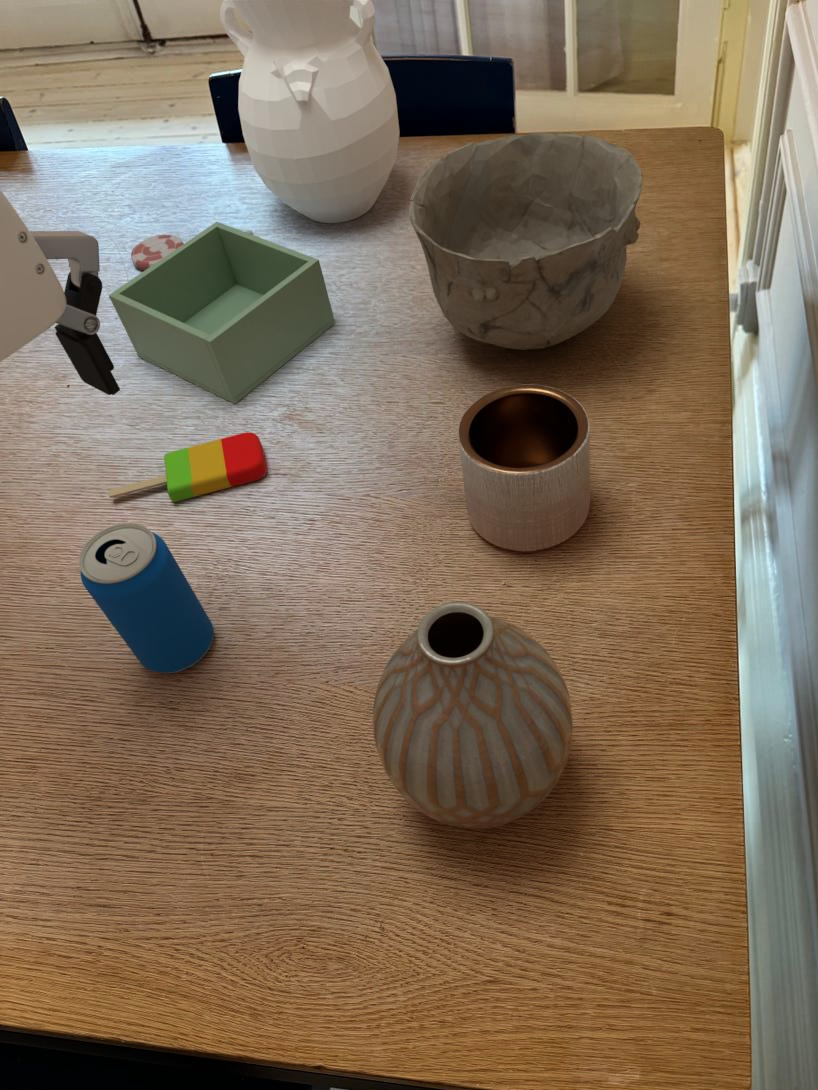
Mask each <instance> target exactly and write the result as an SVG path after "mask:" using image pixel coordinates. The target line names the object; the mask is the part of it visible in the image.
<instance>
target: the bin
mask: <svg viewBox="0 0 818 1090" xmlns="http://www.w3.org/2000/svg"><path fill="white" fill-rule="evenodd" d="M108 298H109V300H110V301H111V303H112V305H113V308H114V310H115V312H116V314H117V316H118V318H119V321H120V322H121V324H122V326H123V328H124V330H125V332H126V334H127V337H128V338H129V340H130V342H131V345H132V346H133V348H134V350H135V352H136V355H137V357H138V358H140V359H142V360H145V361H147V362H148V363H151V364H153V365H155V366H157V367H159V368H161V369H163V370H165V371H167V372H168V373H171V374H173V375H175V376H177V377H179V378H181V379H183V380H185V381H187V382H189V383H191V384H194V385H195V386H198V387H200V388H201V389H203V390H206V391H207V392H210V393H211V394H214V395H216V396H218V397H219V398H222V399H224V400H226V401H228V402H230V403H232V404H234V405H236V404H237V403H238V402H240V401H241V400H242V399H244V398H245V397H247V395H248V394H250V393H251V392H252V391H253V390H255V389H256V388H257V387H258V386H259V385H261V384H262V383H263V382H264V381H266V380H267V379H268V378H270V376H272V375H273V374H274V373H276V372H277V371H278V370H279V369H280V368H282V367H283V366H284V365H285V364H287V363H288V362H290V361H291V359H293V358H294V357H295V356H296V355H298V354H299V353H300V352H301V351H303V350H304V349H305V348H306V347H308V346H309V345H310V344H311V343H313V342H314V341H315V340H317V338H319V337H320V336H321V335H323V334H324V333H325V332H327V330H329V329H330V328H331V327H332V326H334V325H335V324H336V321H335V316H334V313H333V308H332V305H331V301H330V296H329V293H328V290H327V286H326V282H325V278H324V274H323V271H322V267H321V262H320V260H319V258H315V257H312V256H310V255H307V254H305V253H303V252H299V251H297V250H293V249H291V248H289V247H286V246H283V245H280V244H278V243H275V242H273V241H270V240H267V239H264V238H262V237H260V236H257V235H255V234H253V235H251V234H249V233H246V231H243V230H241V229H238V228H235V227H232V226H230V225H227V224H224V223H222V222H219V221H215V222H214V223H212V224H211V225H210V226H208V227H206V228H204V229H203V230H202V231H201V232H199V233H198V234H196V235H195V236H194V237H192V238H190V239H189V240H187V241H186V242H184V244H183V245H182V246H180V247H179V248H177V249H176V250H174V251H173V252H171V253H170V254H168V255H167V256H165V257H164V258H163V259H161V260H160V261H158V262H157V263H155V264H154V265H152V266H151V267H149V268H148V269H146V270H142V272H140V273H139V274H138V275H136V276H134V277H133V278H132V279H129V281H127V282H126V283H124V284H123V285H122V286H120V287H119V288H117V289H115V290H114V291H113V292H111V293H110V294H108Z"/></svg>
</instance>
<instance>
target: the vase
mask: <svg viewBox="0 0 818 1090" xmlns="http://www.w3.org/2000/svg"><path fill="white" fill-rule="evenodd" d="M573 719H574V718H573V709H572V704H571V697H570V693H569V689H568V687H567V684H566V682H565V679H564V677H563V674H562V672H561V670H560V669H559V667H558V665H557V663H556V662H555V661H554V659H553V658H552V656H551V655H550V654H549V653H548V652H547V650H546V649H545V648H544V646H543V645H541V643H540V642H538V641H537V640H536V639H535V638H534V637H533V636H532V635H530V634H529V633H528V632H526V631H525V630H524V629H522V628H521V627H519V626H517V625H515V624H513V623H511V622H509V621H507V620H504V619H502V618H500V617H497V616H493V615H489V614H488V613H487V611H486V610H484V609H483V608H482V607H479V606H478V605H476V604H473V603H470V602H465V601H451V602H447V603H446V602H445V603H442V604H440V605H439V606H436V607H435V608H433V609H431V610H430V611H428V612H427V613H426V615H424V617H423V618H422V619H421V621H420V623H419V625H418V627H417V629H416V630H415V631H414V632H412V633H411V634H410V635H409V636H408V637H407V638H406V639H405V640H403V642H402V643H401V644H400V645H399V646H398V647H397V649H396V650H395V651H394V652H393V654H392V655H391V656H390V658H389V660H388V662H387V664H386V666H385V667H384V669H383V672H382V674H381V676H380V678H379V681H378V684H377V688H376V691H375V696H374V699H373V708H372V730H373V737H374V742H375V747H376V750H377V753H378V757H379V760H380V762H381V765H382V767H383V769H384V772H385V773H386V775H387V777H388V779H389V781H390V782H391V784H392V785H393V787H394V788H395V789H396V791H397V792H398V793H399V794H400V796H401V797H402V798H403V799H404V800H405V801H406V802H407V803H408V804H409V805H411V806H412V807H413V808H414V809H416V810H417V811H418V812H420V813H422V814H423V815H425V816H426V817H428V818H431V819H432V820H435V821H437V822H439V823H442V824H444V825H447V826H451V827H455V828H456V827H457V828H460V829H469V830H470V829H474V830H478V829H479V830H480V829H481V830H482V829H490V828H491V829H492V828H495V827H500V826H503V825H506V824H509V823H512V822H513V821H516V820H517V819H520V818H522V817H524V816H525V815H526V814H528V813H530V812H531V811H532V810H534V809H535V808H536V807H538V806H539V805H540V804H541V803H542V802H543V801H544V800H545V799H546V798H547V797H548V796H549V794H550V793H551V792H552V791H553V789H554V788H555V786H556V785H557V783H558V782H559V780H560V778H561V777H562V775H563V773H564V771H565V769H566V766H567V764H568V761H569V757H570V753H571V749H572V743H573V732H574V720H573Z"/></svg>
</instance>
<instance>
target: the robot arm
mask: <svg viewBox="0 0 818 1090" xmlns="http://www.w3.org/2000/svg"><path fill="white" fill-rule="evenodd" d="M49 260H67V261H68V267H69V268H70V269H69V270H70V271H69V272H68V275H67V278H66V283H65V287H64V288H63V286H62V284H61V282H60V280H59V278H58V277H57V275H56V273H55V271H54V269H53V267H52V265H51V264H50V261H49ZM100 266H101V265H100V247H99V241H98V240H97V238H96V237H94V236H92V235H90V234H88V233H85V232H82V231H79V230H29V228H28V227H27V225H26V224H25V221H23V219H22V218H21V216H20V215H19V213H18V212H17V210H16V209H15V207H14V206H13V204H12V203H11V202H10V201H9V199H8V198H7V196H6V195H5V194H4V192H3V191H2V190H1V189H0V363H1V362H3V361H5V360H6V359H8V358H9V357H10V356H12V355H13V354H15V353H16V352H18V351H19V350H20V349H23V348H24V347H25V346H27V345H28V344H29V343H31V342H32V341H33V340H36V338H38V337H40V336H41V335H42V334H44V333H45V332H46V331H48V330H49V329H51V327H53V326H54V325H55V324H56V325H55V326H54V327H53V328H54V329H55V331H56V332H55V336H56V337H57V340H58V341H59V343H60V345H61V346H62V348H63V350H64V351H65V353H66V355H67V357H68V358H69V360H70V363H71V364H72V365H73V368H74V369H75V370H76V372H77V374H78V376H79V377H80V379H81V381H83V382H84V384H87V385H88V386H91V387H93V388H94V389H97V390H98V391H100V392H102V393H104V394H106V395H108V396H111V395H112V396H114V395H117V393H119V392H120V391H121V388H120V386H119V383H118V382H117V380H116V378H115V377H114V375H113V372H112V371H113V370H114V369H115V366H114V363H113V361H112V359H111V357H110V356H109V353H108V352H107V350H106V348H105V345H104V344H103V342H102V341H101V338H100V337H99V335H98V332H99V330H100V329H101V322H100V319H99V317H98V316H97V313H98V310H99V306H100V305H99V304H100V301H101V297H102V291H103V282H102V280H101V278H100V277H99V272H101V270H100V269H101V267H100Z"/></svg>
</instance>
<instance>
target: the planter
mask: <svg viewBox="0 0 818 1090" xmlns="http://www.w3.org/2000/svg"><path fill="white" fill-rule="evenodd" d="M590 425H591V423H590V418H589V415H588V413H587V411H586V409H585V408H584V406H583V405H582V404H581V403H580V401H578V400H577V399H576V398H575V397H573V396H572V395H570V394H569V393H567V392H565V391H563V390H560V389H558V388H555V387H551V386H547V385H542V384H529V383H528V384H515V385H510V386H505V387H501V388H498V389H495V390H493V391H490V392H488V393H486V394H484V395H483V396H481V397H479V398H477V399H476V400H475V401H473V402H472V403H471V404H470V405H469V406H468V407H467V409H465V411H464V412H463V413H462V415H461V418H460V419H459V421H458V424H457V431H456V433H457V434H456V435H457V444H458V451H459V459H460V465H461V474H462V482H463V489H464V497H465V498H464V499H465V506H466V512H467V516H468V519H469V522H470V524H471V526H472V528H473V529H474V531H475V532H476V533H477V534H478V535H479V536H480V537H481V538H482V539H484V540H485V541H487V542H488V543H489V544H492V545H494V546H496V547H499V548H501V549H503V550H504V549H505V550H508V551H515V552H535V551H542V550H546V549H550V548H553V547H555V546H558V545H560V544H562V543H564V542H566V541H568V540H569V539H570V538H571V537H573V536H574V535H575V534H577V532H578V531H579V530H580V529H581V528H582V526H583V525H584V523H585V522H586V520H587V518H588V514H589V511H590V506H591V467H590V466H591V454H590V453H591V452H590V451H591V426H590Z"/></svg>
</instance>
